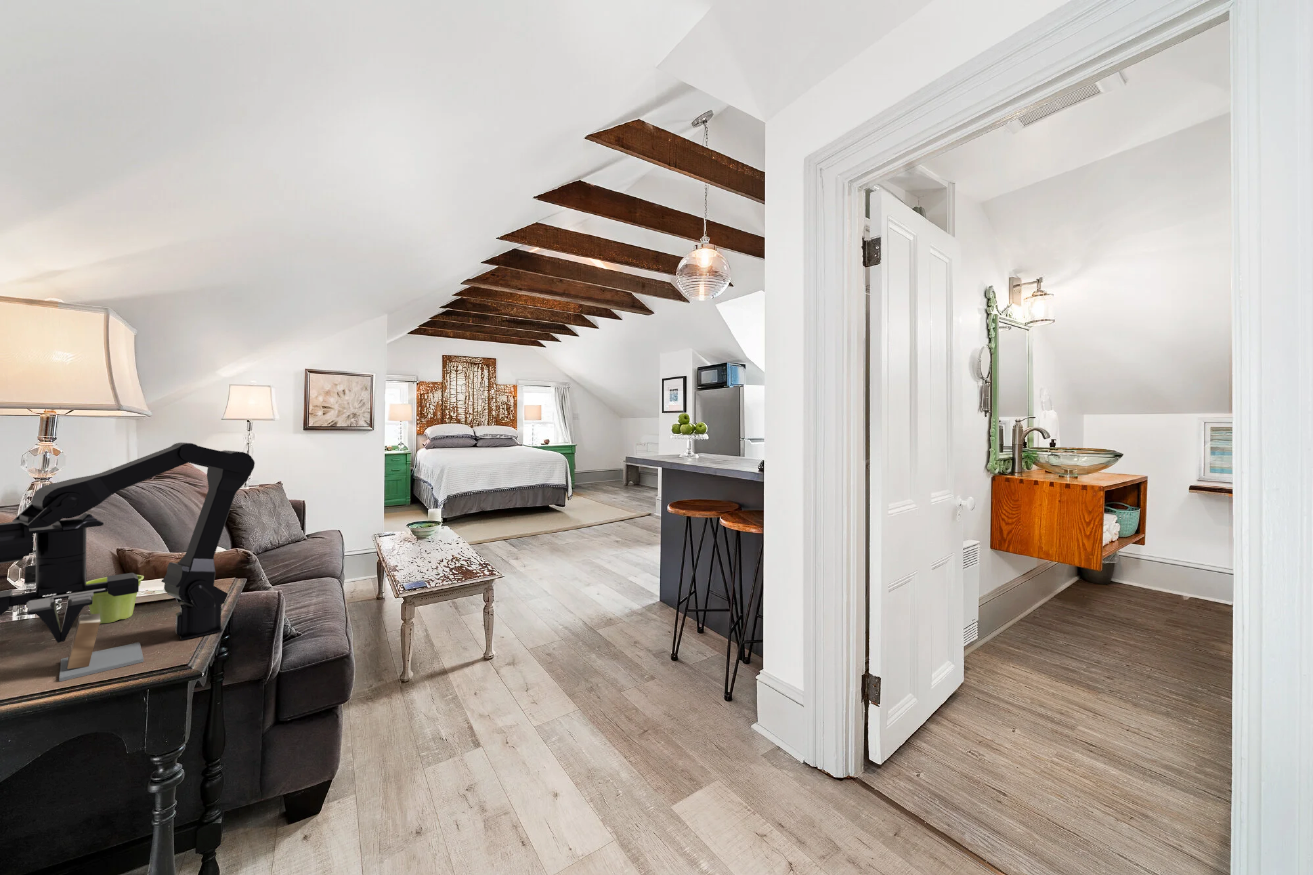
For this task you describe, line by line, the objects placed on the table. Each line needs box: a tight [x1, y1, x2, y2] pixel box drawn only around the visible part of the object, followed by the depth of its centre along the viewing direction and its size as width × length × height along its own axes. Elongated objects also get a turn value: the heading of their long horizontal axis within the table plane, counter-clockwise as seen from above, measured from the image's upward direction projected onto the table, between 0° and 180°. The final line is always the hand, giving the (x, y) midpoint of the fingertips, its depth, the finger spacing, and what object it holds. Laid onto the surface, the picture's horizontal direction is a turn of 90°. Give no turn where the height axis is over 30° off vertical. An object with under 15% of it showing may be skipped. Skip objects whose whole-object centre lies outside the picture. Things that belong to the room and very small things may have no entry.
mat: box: [58, 642, 144, 682], centre depth 91 cm, size 10×10×1 cm
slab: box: [67, 613, 101, 669], centre depth 89 cm, size 2×5×8 cm, turn 50°
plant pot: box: [86, 574, 145, 624], centre depth 110 cm, size 9×9×9 cm
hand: (61, 641), depth 87 cm, fingers closed
